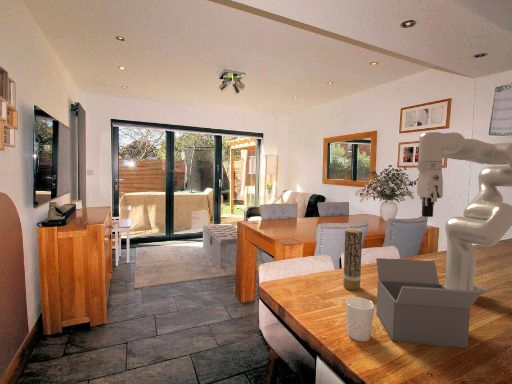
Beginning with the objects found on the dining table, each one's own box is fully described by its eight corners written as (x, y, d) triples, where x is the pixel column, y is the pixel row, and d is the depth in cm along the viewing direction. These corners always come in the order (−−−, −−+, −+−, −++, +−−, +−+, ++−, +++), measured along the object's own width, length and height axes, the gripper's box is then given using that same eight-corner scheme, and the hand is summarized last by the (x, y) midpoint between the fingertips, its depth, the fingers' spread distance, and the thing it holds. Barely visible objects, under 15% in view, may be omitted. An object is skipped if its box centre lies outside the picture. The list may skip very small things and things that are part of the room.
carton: (438, 318, 94) (440, 284, 93) (467, 348, 79) (470, 306, 78) (376, 314, 97) (377, 280, 96) (392, 341, 81) (394, 301, 80)
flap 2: (468, 306, 78) (469, 308, 77) (395, 301, 80) (396, 303, 80) (480, 290, 73) (481, 292, 73) (402, 285, 76) (403, 287, 75)
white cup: (340, 328, 88) (341, 297, 87) (364, 327, 89) (366, 296, 88) (351, 343, 80) (352, 309, 79) (377, 342, 81) (379, 309, 80)
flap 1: (379, 280, 96) (378, 280, 97) (439, 283, 94) (438, 284, 94) (376, 258, 100) (376, 258, 100) (434, 261, 97) (433, 261, 97)
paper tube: (361, 291, 115) (363, 231, 113) (344, 289, 117) (346, 230, 115) (358, 284, 122) (360, 228, 120) (342, 283, 123) (344, 227, 121)
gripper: (452, 166, 94) (449, 220, 96) (430, 167, 109) (428, 213, 111) (428, 166, 95) (425, 219, 97) (410, 167, 110) (408, 213, 112)
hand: (427, 216), depth 104 cm, fingers closed
